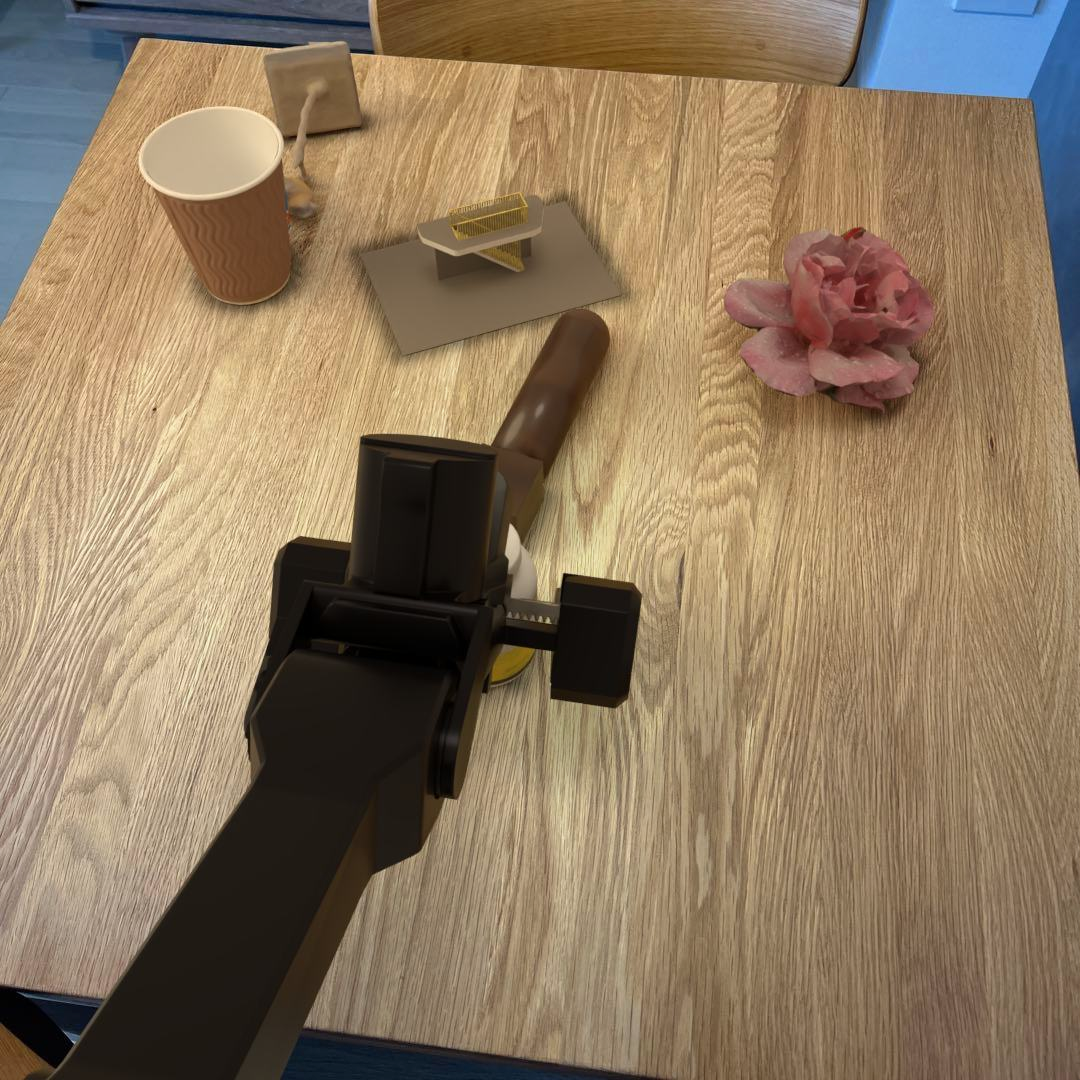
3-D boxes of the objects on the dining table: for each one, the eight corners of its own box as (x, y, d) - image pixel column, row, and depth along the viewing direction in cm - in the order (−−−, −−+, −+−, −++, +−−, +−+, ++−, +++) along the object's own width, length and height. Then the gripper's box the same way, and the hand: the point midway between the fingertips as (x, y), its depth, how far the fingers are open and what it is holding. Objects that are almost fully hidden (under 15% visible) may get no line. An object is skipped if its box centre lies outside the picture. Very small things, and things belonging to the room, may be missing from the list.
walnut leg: (517, 554, 76) (516, 516, 73) (457, 534, 77) (453, 496, 74) (616, 347, 87) (619, 305, 83) (562, 332, 88) (563, 289, 84)
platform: (621, 295, 90) (625, 229, 84) (402, 355, 86) (392, 292, 81) (565, 201, 96) (566, 134, 91) (359, 254, 93) (348, 188, 87)
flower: (753, 434, 78) (813, 316, 71) (693, 306, 88) (741, 191, 81) (935, 447, 83) (1008, 337, 76) (859, 324, 92) (918, 217, 86)
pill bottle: (425, 616, 74) (407, 513, 64) (521, 591, 75) (517, 485, 65) (451, 704, 70) (435, 608, 61) (551, 676, 71) (551, 578, 62)
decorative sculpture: (318, 234, 94) (302, 160, 88) (206, 220, 95) (183, 146, 89) (369, 114, 103) (358, 39, 97) (266, 102, 104) (248, 28, 98)
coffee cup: (338, 263, 92) (313, 136, 82) (252, 340, 87) (214, 216, 77) (243, 215, 95) (208, 88, 85) (155, 287, 91) (107, 162, 81)
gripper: (652, 514, 49) (660, 470, 64) (235, 457, 51) (339, 428, 66) (619, 757, 51) (634, 659, 66) (220, 695, 53) (323, 613, 68)
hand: (482, 585), depth 67 cm, fingers open, 9 cm apart
